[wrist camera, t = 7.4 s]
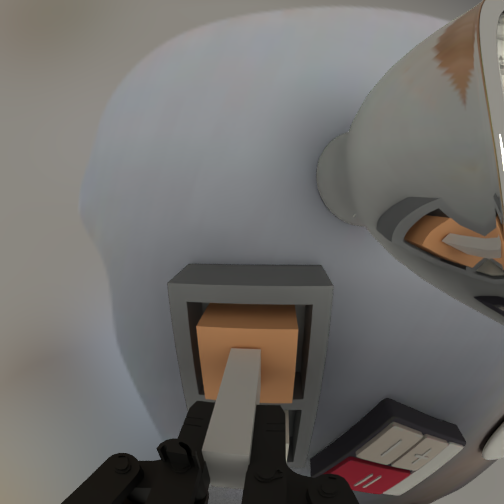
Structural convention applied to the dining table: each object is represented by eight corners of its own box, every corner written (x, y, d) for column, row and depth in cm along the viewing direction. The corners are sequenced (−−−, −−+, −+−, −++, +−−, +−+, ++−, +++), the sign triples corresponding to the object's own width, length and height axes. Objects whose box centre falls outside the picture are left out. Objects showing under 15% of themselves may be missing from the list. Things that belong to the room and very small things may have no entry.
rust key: (290, 364, 18) (291, 403, 14) (217, 362, 18) (205, 398, 14) (293, 298, 17) (298, 329, 13) (212, 296, 17) (196, 326, 13)
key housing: (302, 434, 21) (304, 467, 17) (209, 430, 22) (200, 461, 18) (321, 265, 17) (333, 285, 13) (189, 263, 18) (167, 283, 14)
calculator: (395, 421, 16) (470, 447, 16) (383, 390, 20) (457, 424, 20) (308, 484, 19) (399, 499, 19) (308, 454, 23) (393, 476, 23)
